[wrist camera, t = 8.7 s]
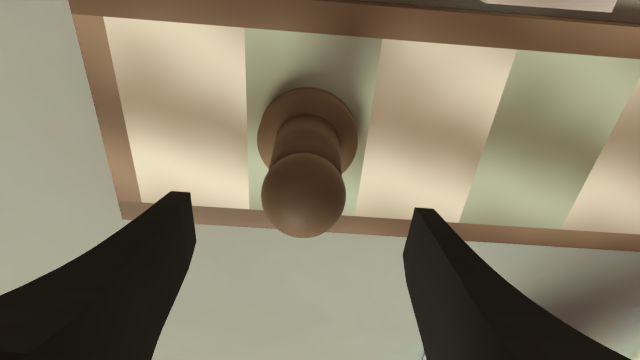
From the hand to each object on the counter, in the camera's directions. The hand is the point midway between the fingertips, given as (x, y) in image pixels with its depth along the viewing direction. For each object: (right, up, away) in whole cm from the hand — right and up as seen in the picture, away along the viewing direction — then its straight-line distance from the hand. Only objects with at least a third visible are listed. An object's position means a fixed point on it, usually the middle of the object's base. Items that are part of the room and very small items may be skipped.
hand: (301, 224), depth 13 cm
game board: (+5, +4, +6) cm, 9 cm away
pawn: (0, +4, +5) cm, 6 cm away
